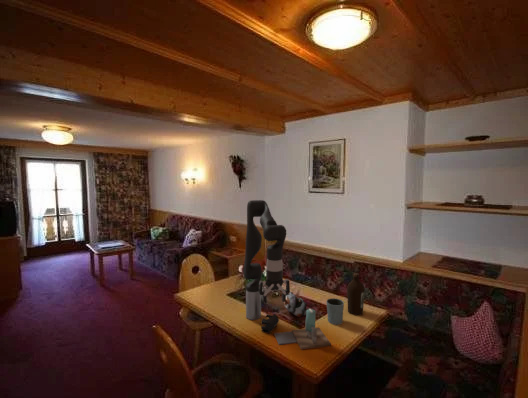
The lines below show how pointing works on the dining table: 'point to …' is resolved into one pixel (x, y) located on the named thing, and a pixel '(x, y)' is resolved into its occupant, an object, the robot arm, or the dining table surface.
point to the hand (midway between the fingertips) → (274, 302)
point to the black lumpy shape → (269, 323)
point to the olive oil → (355, 296)
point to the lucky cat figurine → (295, 305)
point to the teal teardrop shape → (310, 319)
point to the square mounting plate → (310, 338)
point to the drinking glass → (335, 311)
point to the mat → (285, 338)
